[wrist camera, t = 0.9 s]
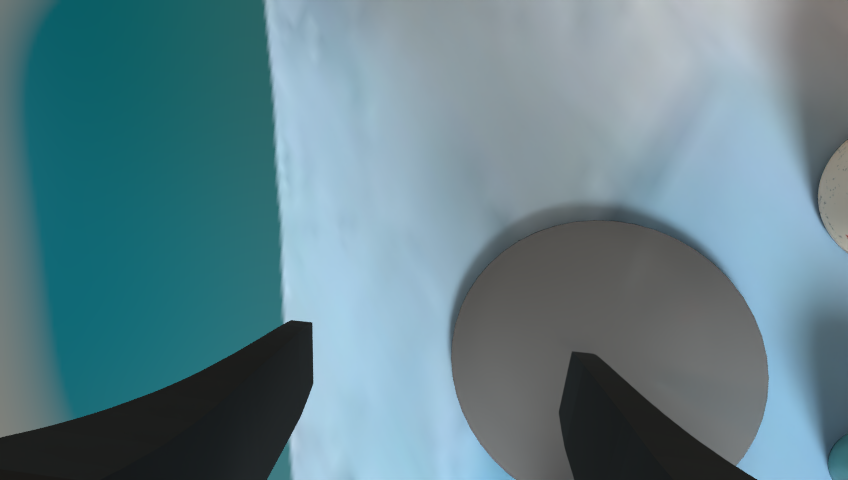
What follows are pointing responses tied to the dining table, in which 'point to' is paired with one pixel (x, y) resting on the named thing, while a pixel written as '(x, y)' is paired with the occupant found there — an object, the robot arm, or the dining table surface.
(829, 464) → the pepper shaker
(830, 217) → the teacup with lid
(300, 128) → the dining table surface
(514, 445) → the slate plate
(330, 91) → the dining table surface
